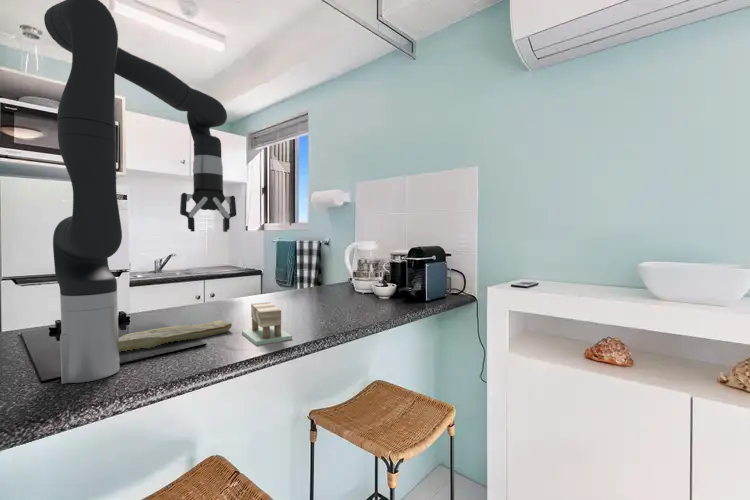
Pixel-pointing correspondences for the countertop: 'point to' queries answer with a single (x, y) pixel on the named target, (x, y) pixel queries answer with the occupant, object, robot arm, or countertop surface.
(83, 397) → the countertop surface
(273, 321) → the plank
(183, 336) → the stone slab
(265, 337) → the peg stand
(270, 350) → the countertop surface
